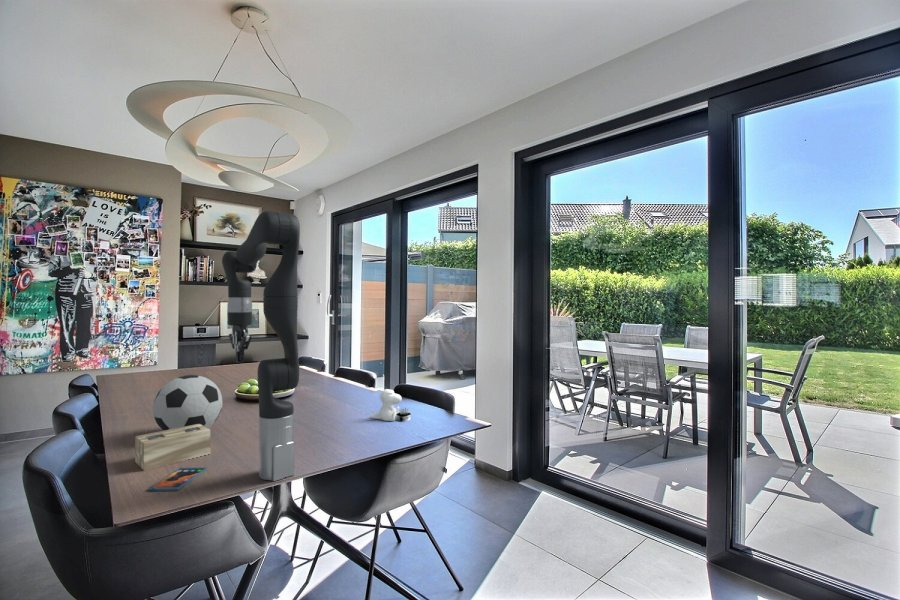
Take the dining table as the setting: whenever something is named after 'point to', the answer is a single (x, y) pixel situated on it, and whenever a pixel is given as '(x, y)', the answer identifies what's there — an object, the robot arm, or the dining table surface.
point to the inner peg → (191, 429)
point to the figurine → (391, 408)
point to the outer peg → (155, 437)
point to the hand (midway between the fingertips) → (240, 362)
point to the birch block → (171, 446)
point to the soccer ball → (187, 403)
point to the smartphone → (176, 479)
